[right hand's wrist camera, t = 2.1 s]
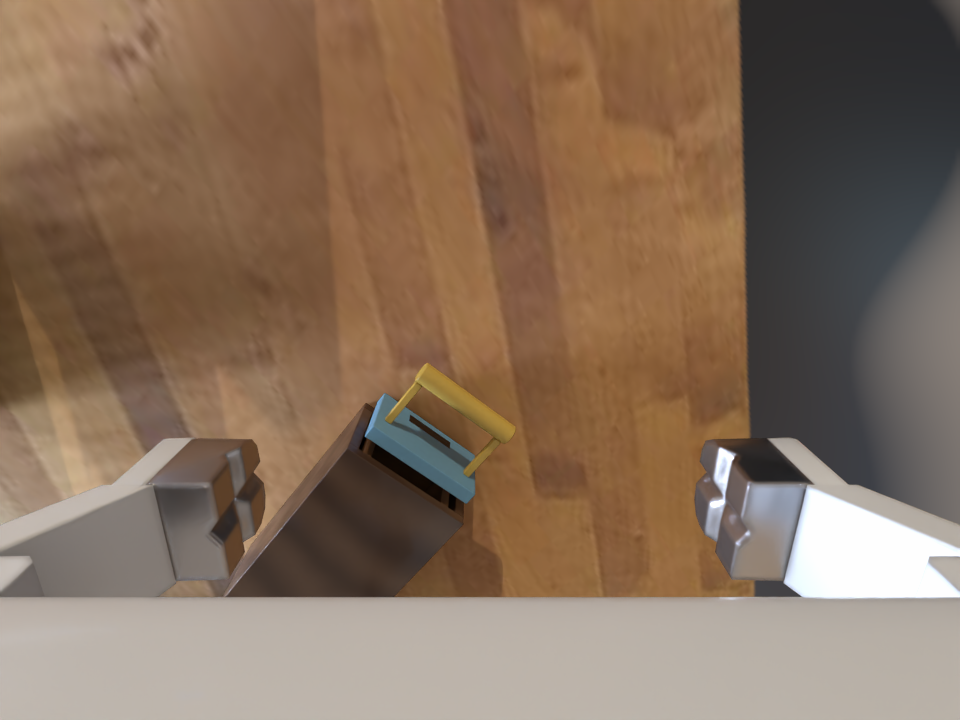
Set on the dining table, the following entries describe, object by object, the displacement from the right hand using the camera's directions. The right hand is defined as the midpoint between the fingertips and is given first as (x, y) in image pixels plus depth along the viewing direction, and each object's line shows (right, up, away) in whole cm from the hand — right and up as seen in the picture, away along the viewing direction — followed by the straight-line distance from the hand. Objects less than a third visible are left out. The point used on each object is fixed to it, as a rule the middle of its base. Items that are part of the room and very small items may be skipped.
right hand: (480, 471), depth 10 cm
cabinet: (-12, -12, +43) cm, 46 cm away
